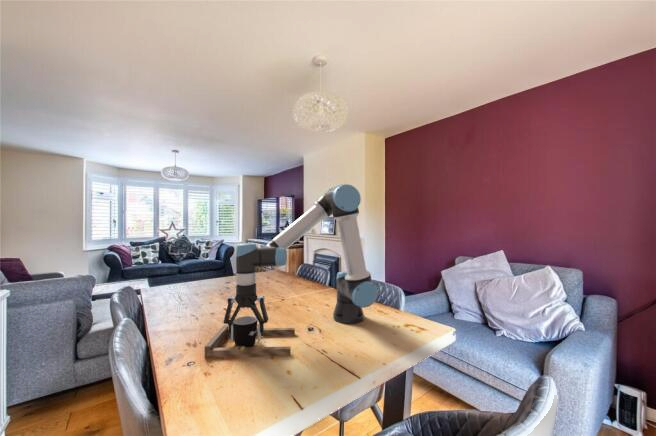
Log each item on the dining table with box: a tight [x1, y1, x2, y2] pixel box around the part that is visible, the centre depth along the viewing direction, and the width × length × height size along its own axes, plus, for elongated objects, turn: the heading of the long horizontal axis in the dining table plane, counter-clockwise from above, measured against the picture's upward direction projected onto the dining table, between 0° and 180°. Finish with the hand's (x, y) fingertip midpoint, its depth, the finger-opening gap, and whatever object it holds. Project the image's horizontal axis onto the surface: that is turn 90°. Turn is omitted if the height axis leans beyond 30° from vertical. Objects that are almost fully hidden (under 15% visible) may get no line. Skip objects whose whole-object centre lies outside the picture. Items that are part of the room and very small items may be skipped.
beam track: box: [204, 324, 296, 359], centre depth 105 cm, size 30×19×4 cm, turn 92°
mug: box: [233, 315, 258, 347], centre depth 105 cm, size 12×9×10 cm
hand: (246, 340), depth 104 cm, fingers open, 9 cm apart
